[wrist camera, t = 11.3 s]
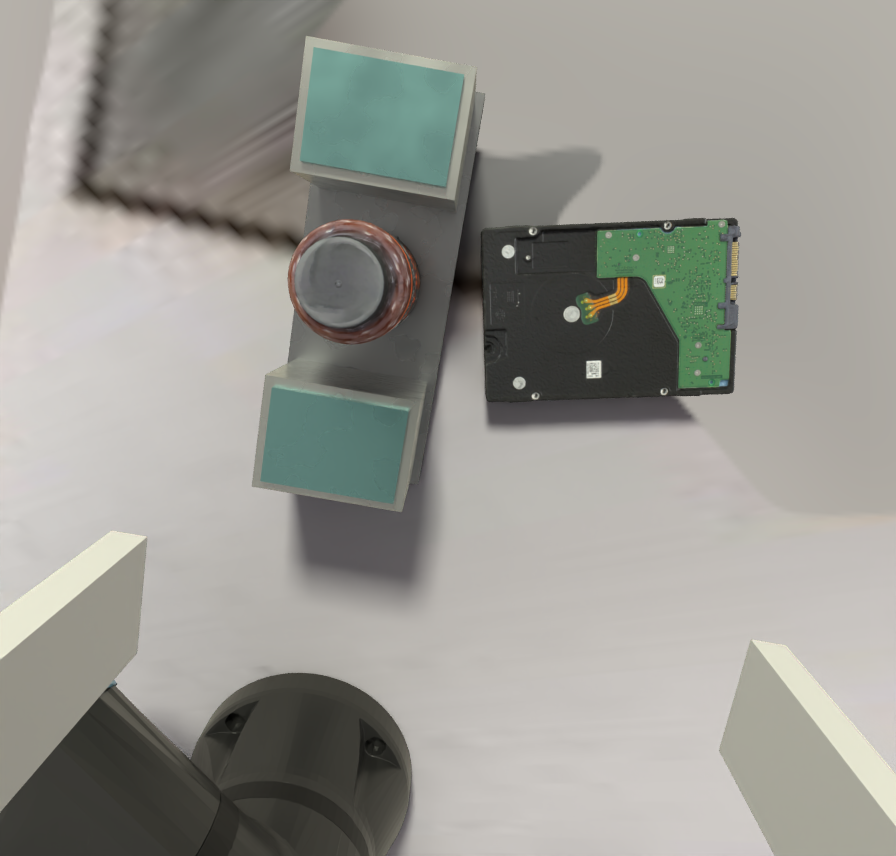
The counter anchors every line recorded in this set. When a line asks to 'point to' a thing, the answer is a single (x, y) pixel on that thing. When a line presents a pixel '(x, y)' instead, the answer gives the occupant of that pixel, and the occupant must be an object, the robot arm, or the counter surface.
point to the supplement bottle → (353, 281)
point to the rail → (401, 214)
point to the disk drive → (610, 309)
